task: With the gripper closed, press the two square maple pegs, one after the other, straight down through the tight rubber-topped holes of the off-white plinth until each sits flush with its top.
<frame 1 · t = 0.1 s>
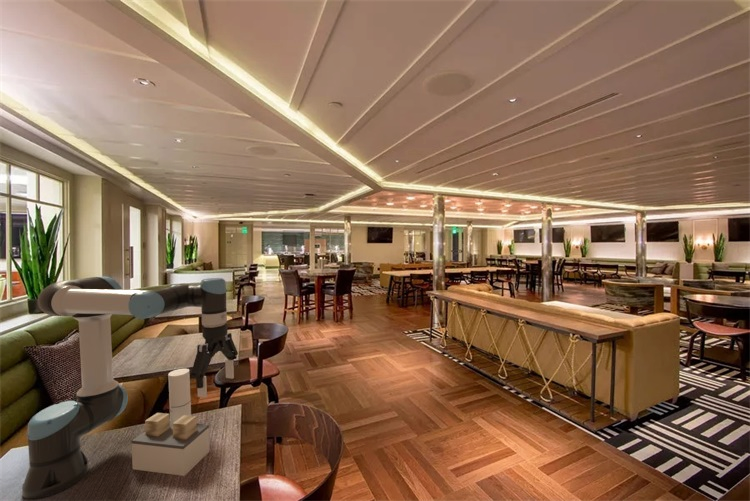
hand: (217, 386, 105), 28 cm above the table, tool pointing down, fingers open, 13 cm apart
plinth: (172, 459, 110), on the table
peg 2: (185, 430, 109), point 11 cm above the table, slide at 0.0 cm
cylindrical container: (181, 433, 125), on the table
peg 1: (157, 428, 111), point 11 cm above the table, slide at 0.0 cm
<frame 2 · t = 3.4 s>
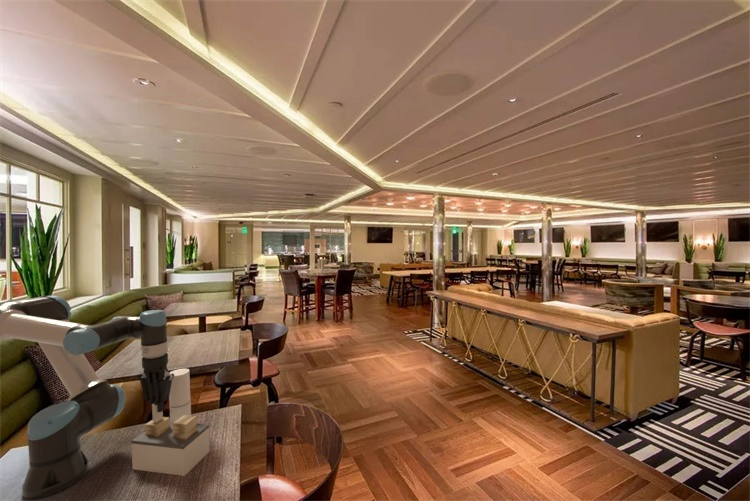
hand: (157, 420, 110), 14 cm above the table, tool pointing down, fingers closed
peg 1: (158, 431, 111), point 10 cm above the table, slide at 1.4 cm, touching gripper
everything else where it was.
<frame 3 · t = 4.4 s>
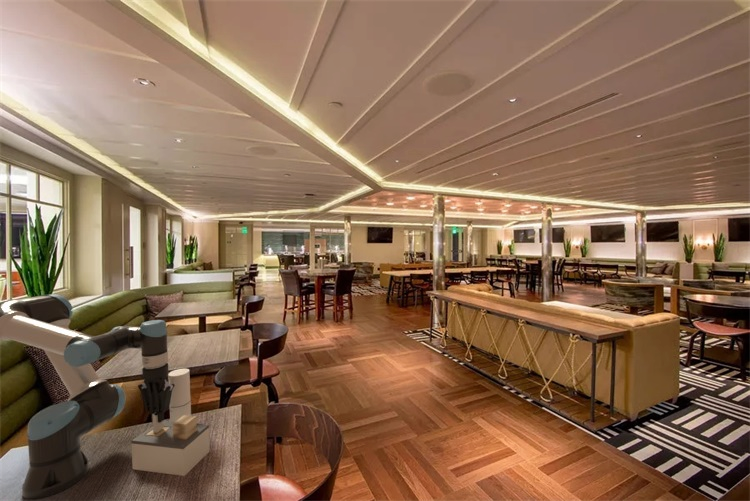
hand: (158, 430, 111), 10 cm above the table, tool pointing down, fingers closed
peg 1: (158, 441, 111), point 6 cm above the table, slide at 5.0 cm, touching gripper
everything else where it was.
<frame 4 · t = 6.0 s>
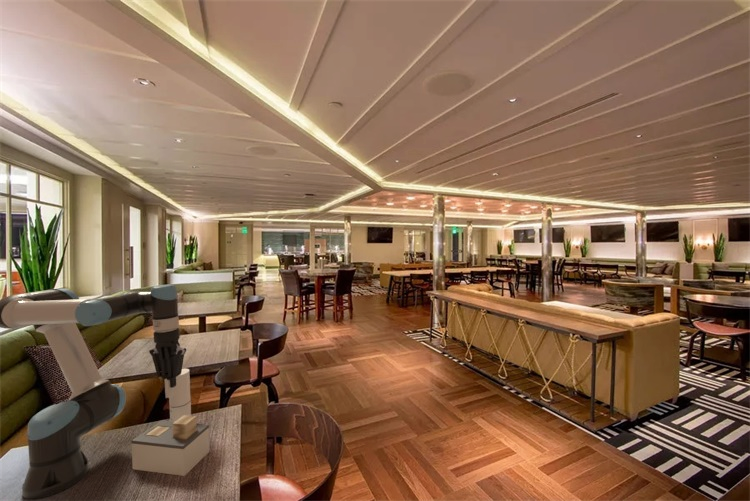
hand: (170, 395, 109), 23 cm above the table, tool pointing down, fingers closed
peg 1: (158, 441, 111), point 6 cm above the table, slide at 5.0 cm
everything else where it was.
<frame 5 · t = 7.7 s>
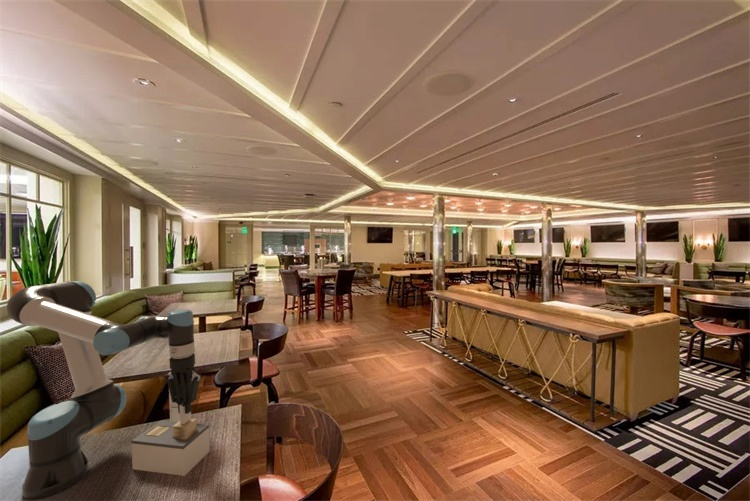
hand: (185, 421, 108), 14 cm above the table, tool pointing down, fingers closed
peg 2: (185, 433, 109), point 10 cm above the table, slide at 1.0 cm, touching gripper
everything else where it was.
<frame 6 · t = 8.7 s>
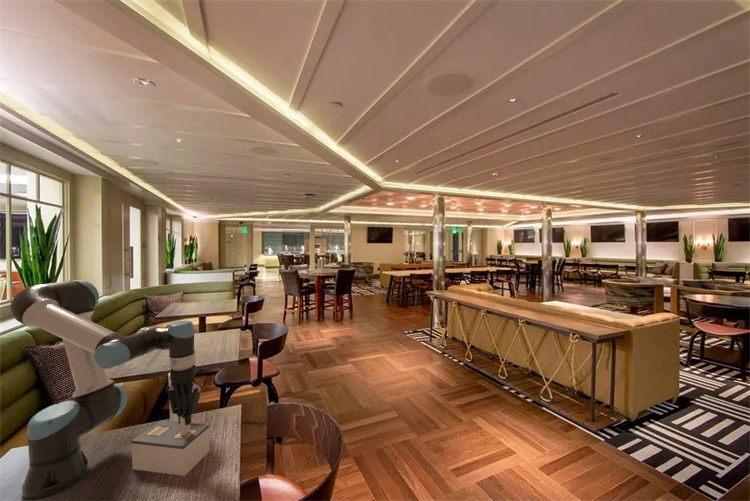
hand: (185, 433, 109), 10 cm above the table, tool pointing down, fingers closed
peg 2: (185, 444, 109), point 6 cm above the table, slide at 5.0 cm, touching gripper
everything else where it was.
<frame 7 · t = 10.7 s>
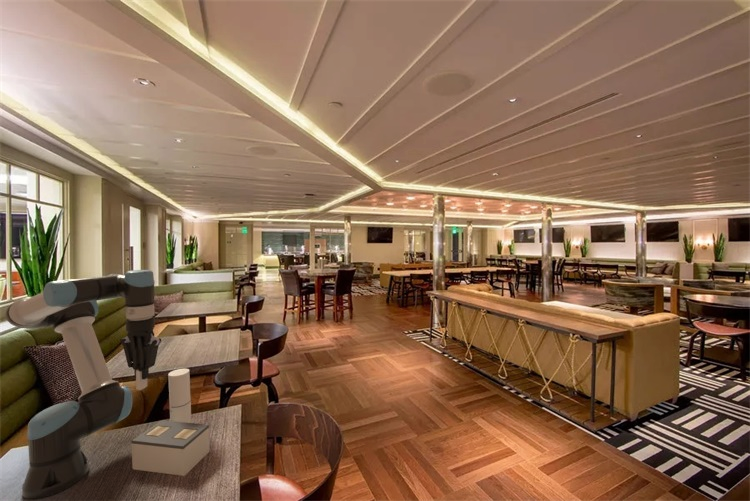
hand: (141, 388, 103), 29 cm above the table, tool pointing down, fingers closed
peg 2: (185, 444, 109), point 6 cm above the table, slide at 5.0 cm
everything else where it was.
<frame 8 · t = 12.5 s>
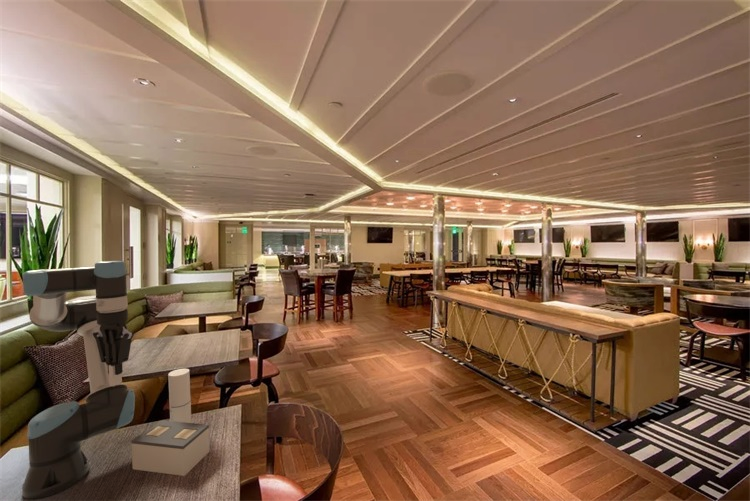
hand: (115, 384, 98), 32 cm above the table, tool pointing down, fingers closed
nothing on the table moved.
at the end: peg 1 slide at 5.0 cm; peg 2 slide at 5.0 cm; cylindrical container moved 0.2 cm from its start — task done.
